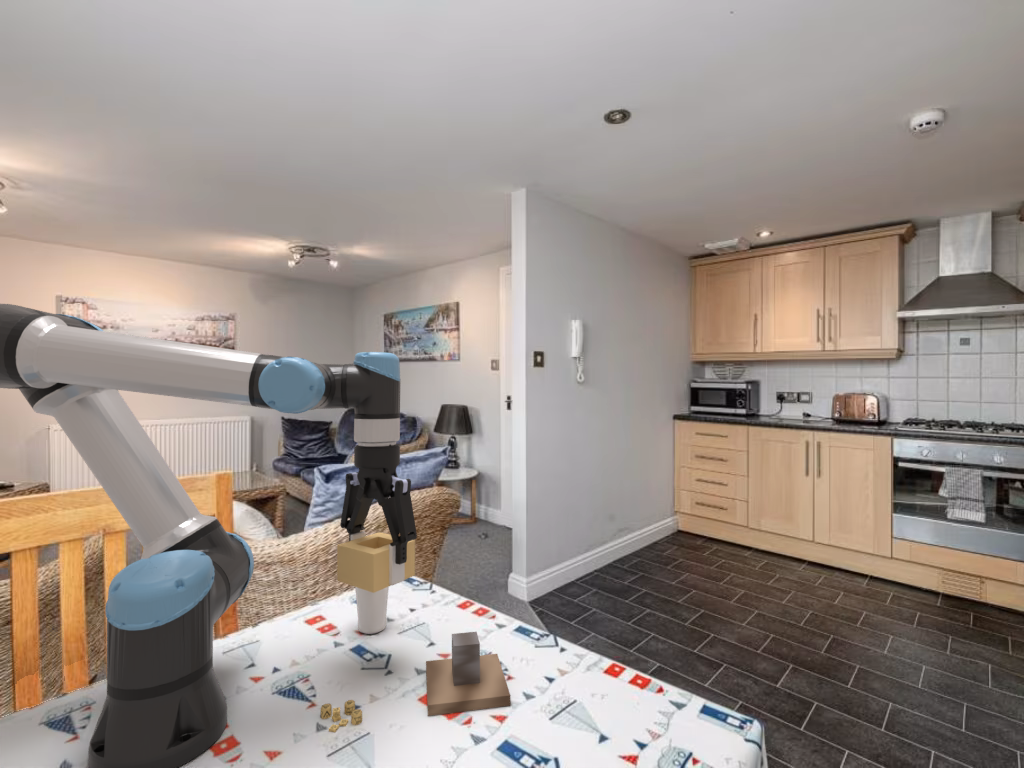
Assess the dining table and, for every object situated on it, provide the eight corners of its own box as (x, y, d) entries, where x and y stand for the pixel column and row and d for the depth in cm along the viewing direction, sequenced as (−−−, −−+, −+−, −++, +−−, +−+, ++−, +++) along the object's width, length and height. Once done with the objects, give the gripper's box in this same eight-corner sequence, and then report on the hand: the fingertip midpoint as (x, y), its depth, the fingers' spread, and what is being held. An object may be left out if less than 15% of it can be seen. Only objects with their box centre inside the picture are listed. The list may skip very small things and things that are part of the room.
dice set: (319, 718, 73) (319, 705, 73) (356, 708, 75) (356, 695, 75) (324, 740, 68) (324, 725, 68) (363, 728, 70) (363, 714, 70)
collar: (373, 592, 79) (373, 554, 79) (337, 580, 84) (337, 544, 84) (414, 575, 87) (414, 540, 87) (379, 565, 92) (379, 532, 92)
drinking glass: (351, 625, 100) (351, 549, 100) (385, 618, 103) (385, 544, 103) (357, 640, 94) (357, 559, 94) (393, 632, 97) (393, 554, 97)
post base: (427, 715, 72) (427, 663, 72) (426, 670, 84) (425, 624, 84) (510, 705, 74) (510, 654, 74) (497, 662, 86) (497, 618, 86)
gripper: (440, 445, 83) (439, 583, 82) (353, 438, 95) (353, 558, 95) (406, 449, 77) (406, 598, 76) (318, 441, 89) (318, 570, 88)
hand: (376, 576), depth 85 cm, fingers closed on collar, 9 cm apart
